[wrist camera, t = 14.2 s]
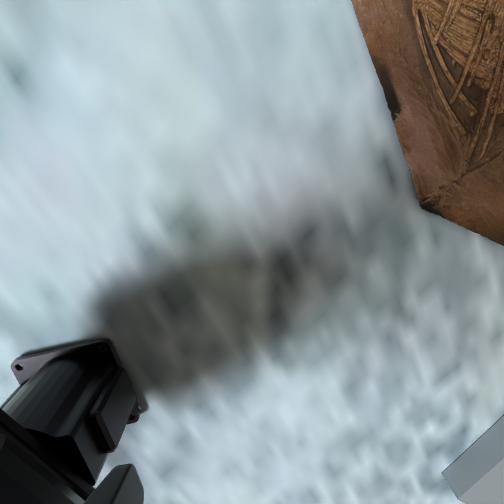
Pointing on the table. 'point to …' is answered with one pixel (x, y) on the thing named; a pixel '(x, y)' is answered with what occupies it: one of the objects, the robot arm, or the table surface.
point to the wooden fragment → (445, 101)
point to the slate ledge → (480, 469)
